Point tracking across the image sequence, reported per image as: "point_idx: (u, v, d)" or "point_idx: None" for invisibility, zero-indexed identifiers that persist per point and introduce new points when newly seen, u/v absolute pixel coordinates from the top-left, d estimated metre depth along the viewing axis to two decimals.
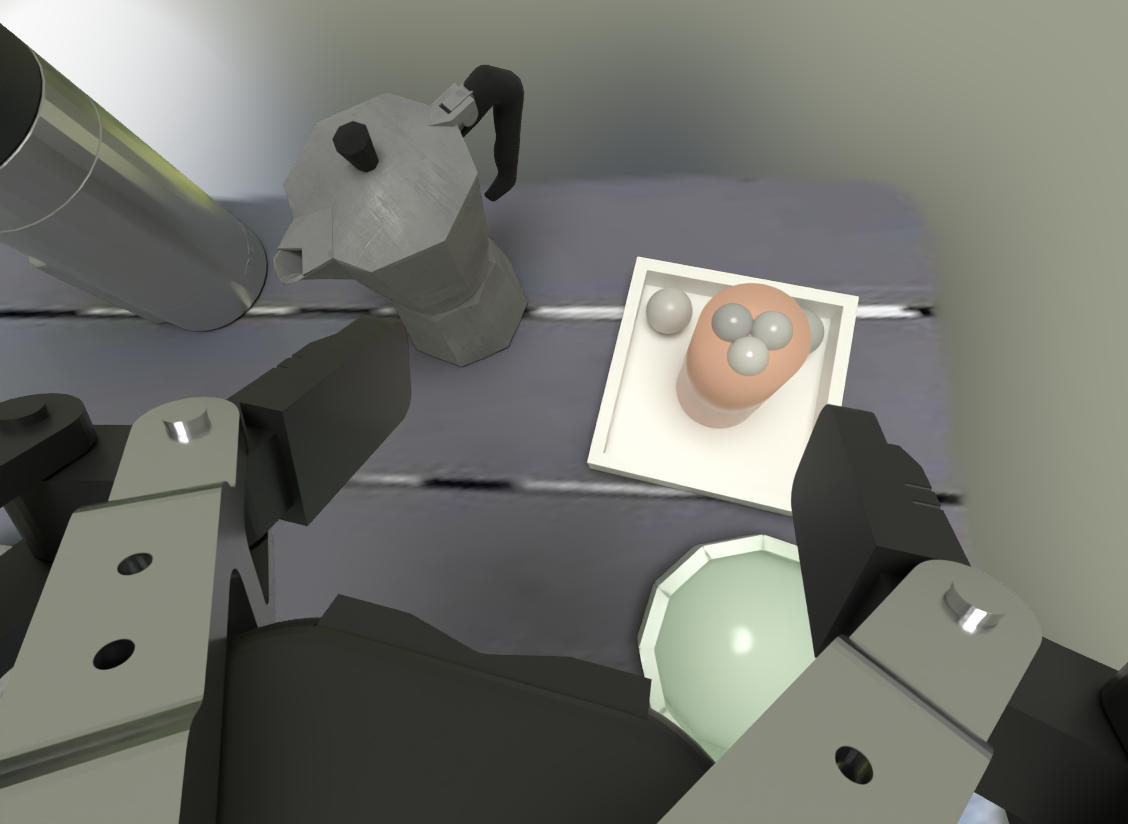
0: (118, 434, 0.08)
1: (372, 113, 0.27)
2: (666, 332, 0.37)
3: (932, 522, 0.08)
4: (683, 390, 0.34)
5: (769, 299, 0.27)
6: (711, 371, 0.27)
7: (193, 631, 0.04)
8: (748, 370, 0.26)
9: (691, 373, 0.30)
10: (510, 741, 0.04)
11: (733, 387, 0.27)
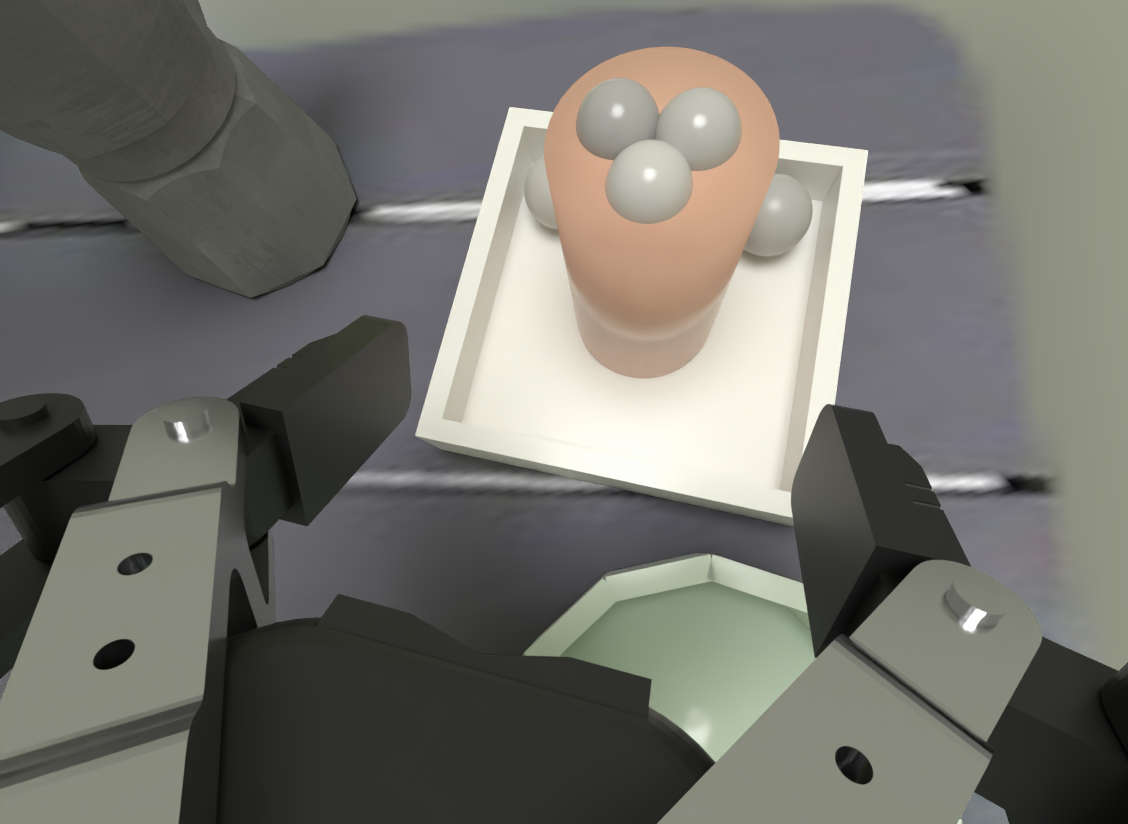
0: (118, 433, 0.08)
1: None
2: (556, 224, 0.22)
3: (932, 522, 0.08)
4: (575, 308, 0.20)
5: (693, 74, 0.13)
6: (573, 218, 0.13)
7: (192, 631, 0.04)
8: (646, 207, 0.12)
9: (565, 257, 0.16)
10: (510, 741, 0.04)
11: (620, 250, 0.13)
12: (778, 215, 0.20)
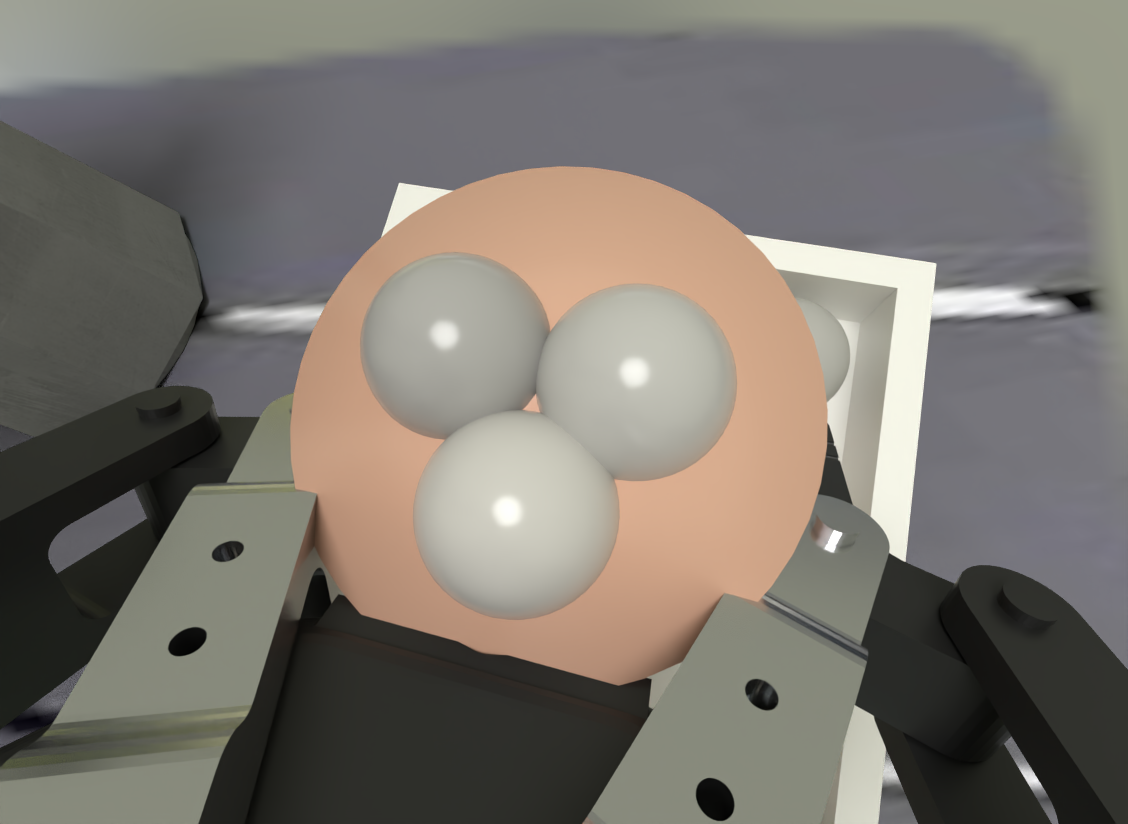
0: (237, 425, 0.08)
1: None
2: None
3: (827, 470, 0.08)
4: None
5: (630, 234, 0.06)
6: (341, 585, 0.06)
7: (259, 633, 0.04)
8: (494, 604, 0.05)
9: None
10: (510, 741, 0.04)
11: None
12: None
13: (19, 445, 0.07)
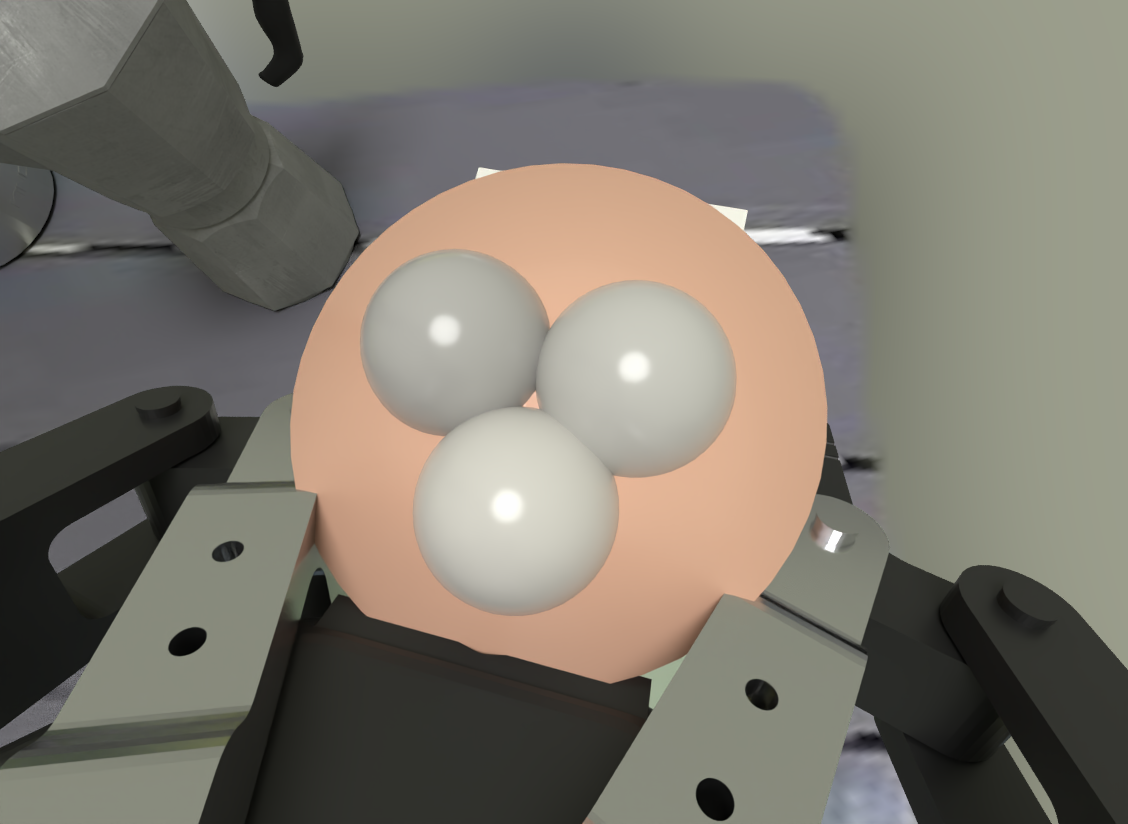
0: (237, 425, 0.08)
1: None
2: None
3: (827, 470, 0.08)
4: None
5: (629, 231, 0.06)
6: (340, 582, 0.06)
7: (259, 633, 0.04)
8: (493, 600, 0.05)
9: None
10: (510, 741, 0.04)
11: None
12: None
13: (19, 445, 0.07)
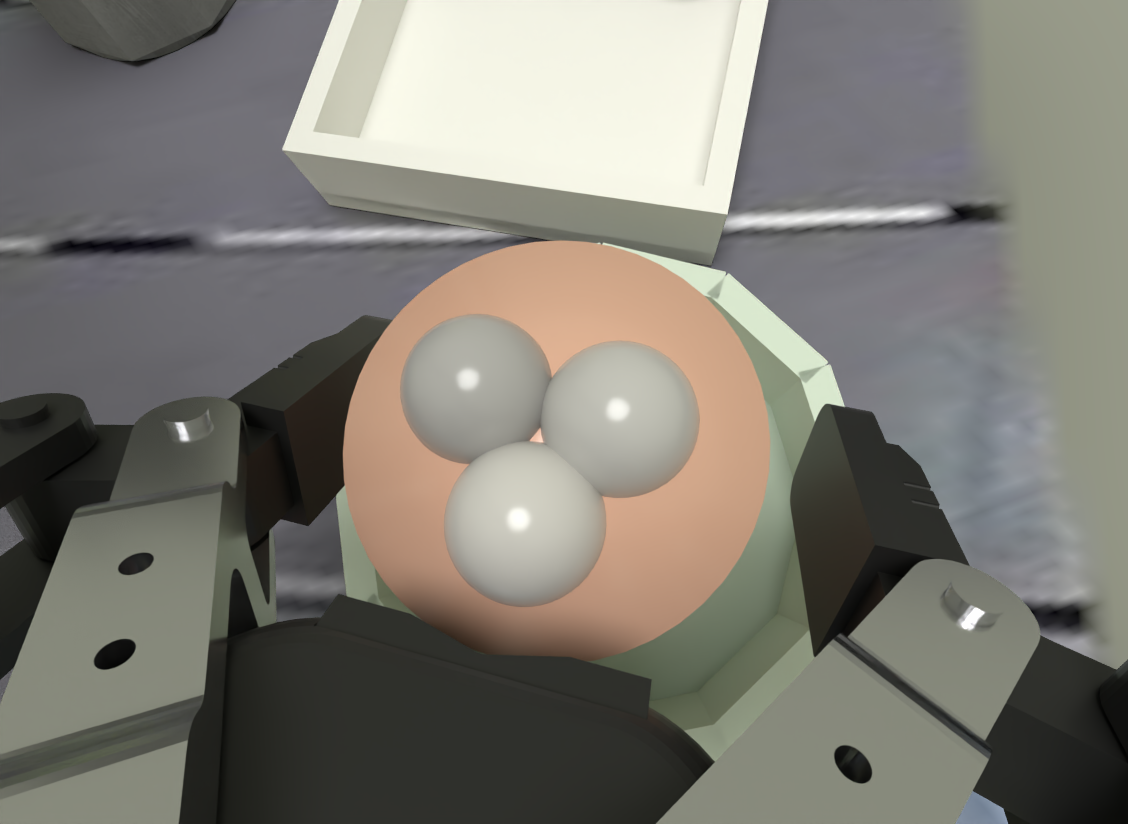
0: (119, 433, 0.08)
1: None
2: None
3: (931, 521, 0.08)
4: None
5: (616, 298, 0.07)
6: (386, 580, 0.07)
7: (194, 631, 0.04)
8: (508, 594, 0.06)
9: None
10: (510, 741, 0.04)
11: (473, 641, 0.07)
12: None
13: None
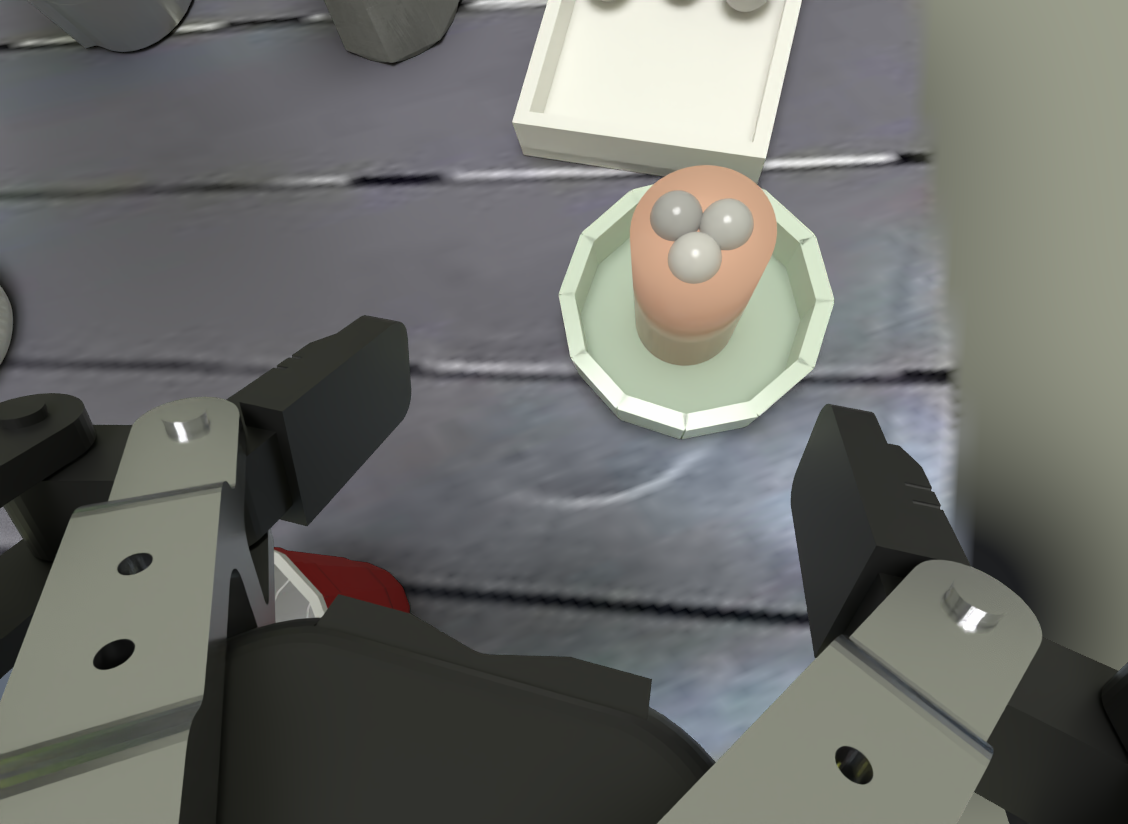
0: (118, 433, 0.08)
1: None
2: None
3: (932, 522, 0.08)
4: (636, 317, 0.28)
5: (725, 185, 0.21)
6: (647, 278, 0.21)
7: (193, 631, 0.04)
8: (692, 275, 0.21)
9: (635, 289, 0.25)
10: (510, 741, 0.04)
11: (675, 299, 0.21)
12: None
13: None
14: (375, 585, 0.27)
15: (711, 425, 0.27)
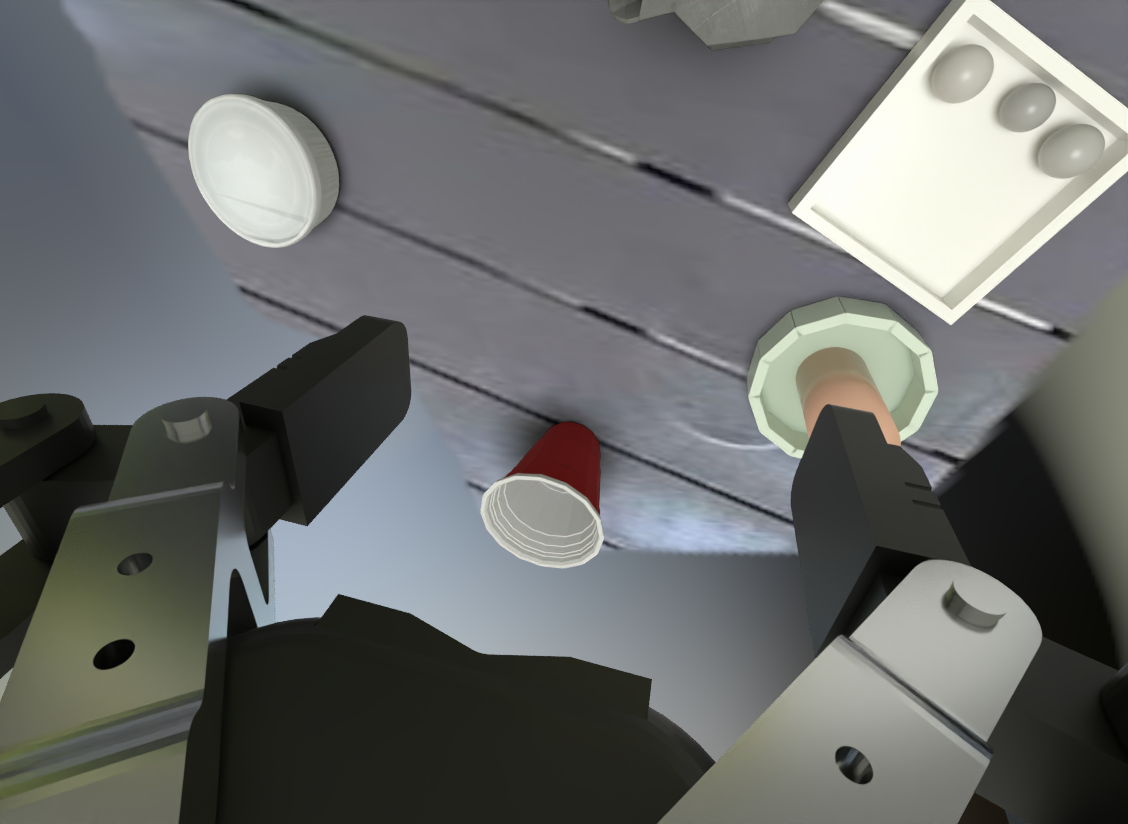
0: (118, 433, 0.08)
1: None
2: (941, 100, 0.34)
3: (932, 522, 0.08)
4: (800, 390, 0.44)
5: (883, 430, 0.37)
6: None
7: (193, 631, 0.04)
8: None
9: (806, 416, 0.41)
10: (510, 741, 0.04)
11: None
12: (1069, 167, 0.33)
13: None
14: (597, 464, 0.52)
15: None
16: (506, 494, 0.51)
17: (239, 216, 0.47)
